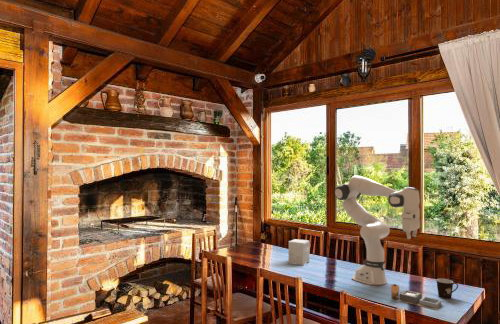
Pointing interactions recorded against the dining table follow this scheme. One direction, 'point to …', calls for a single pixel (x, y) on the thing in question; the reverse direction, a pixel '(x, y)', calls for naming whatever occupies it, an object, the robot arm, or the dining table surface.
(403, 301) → the bench board
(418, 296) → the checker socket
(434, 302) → the tray
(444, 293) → the coffee mug
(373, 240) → the robot arm
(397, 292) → the cell
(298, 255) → the supplement box
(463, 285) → the dining table surface
